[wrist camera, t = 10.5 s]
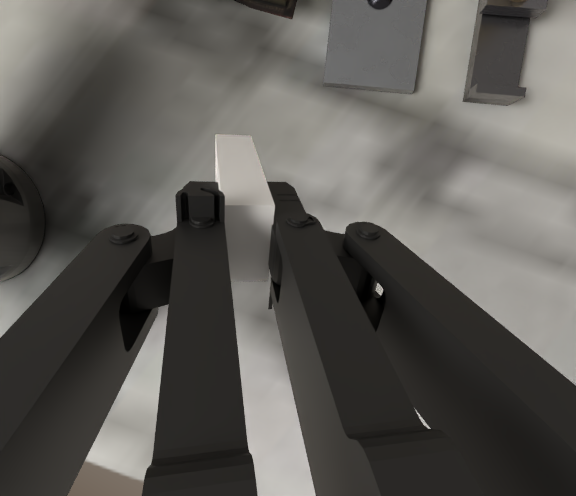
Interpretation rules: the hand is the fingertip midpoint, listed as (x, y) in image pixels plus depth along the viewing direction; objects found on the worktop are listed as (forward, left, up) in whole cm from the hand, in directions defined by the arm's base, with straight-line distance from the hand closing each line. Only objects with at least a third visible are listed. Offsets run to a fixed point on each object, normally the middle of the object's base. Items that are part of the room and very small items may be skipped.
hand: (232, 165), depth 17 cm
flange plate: (+4, +21, -24) cm, 33 cm away
